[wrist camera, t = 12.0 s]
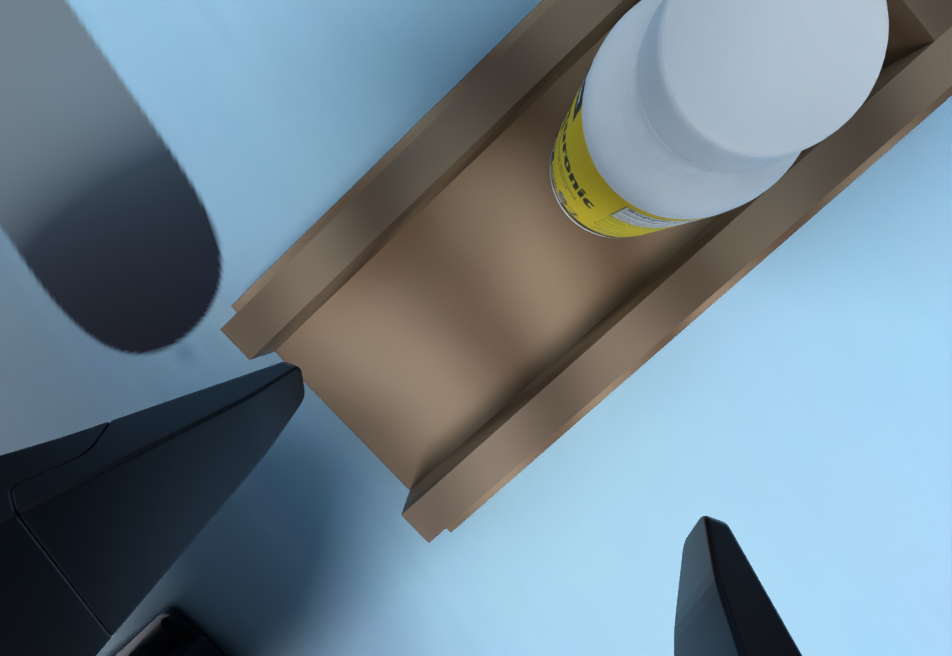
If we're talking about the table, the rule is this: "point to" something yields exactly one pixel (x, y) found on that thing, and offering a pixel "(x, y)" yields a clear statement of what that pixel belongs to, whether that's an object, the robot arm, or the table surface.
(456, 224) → the walnut track
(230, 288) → the table surface
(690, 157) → the supplement bottle
